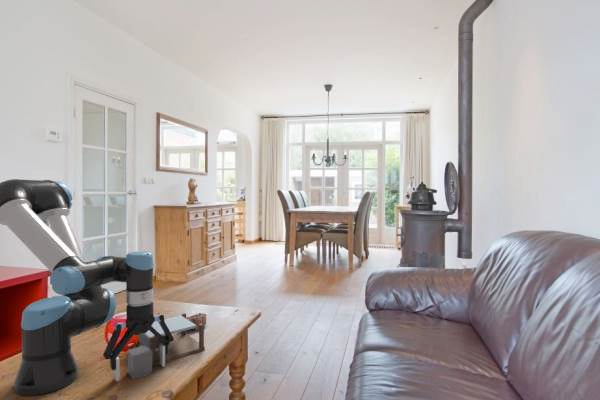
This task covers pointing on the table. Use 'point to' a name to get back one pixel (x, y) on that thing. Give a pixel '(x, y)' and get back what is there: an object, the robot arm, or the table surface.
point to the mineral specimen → (197, 320)
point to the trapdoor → (173, 325)
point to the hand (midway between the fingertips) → (140, 372)
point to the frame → (177, 345)
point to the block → (139, 362)
